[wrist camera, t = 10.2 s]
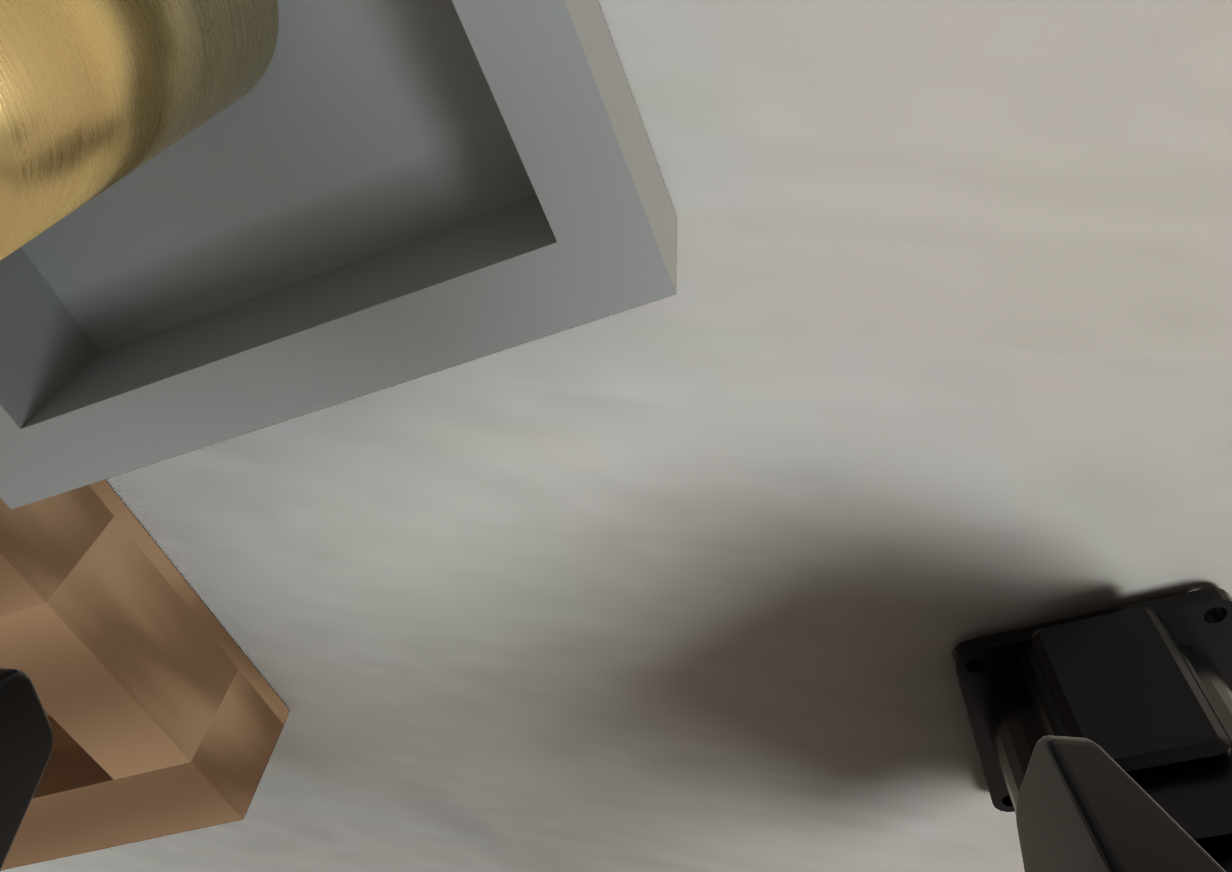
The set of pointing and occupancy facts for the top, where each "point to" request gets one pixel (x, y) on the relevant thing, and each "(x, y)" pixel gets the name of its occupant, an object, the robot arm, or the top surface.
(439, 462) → the top surface
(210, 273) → the grey tray
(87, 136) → the brass pin
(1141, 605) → the robot arm
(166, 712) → the walnut socket block
